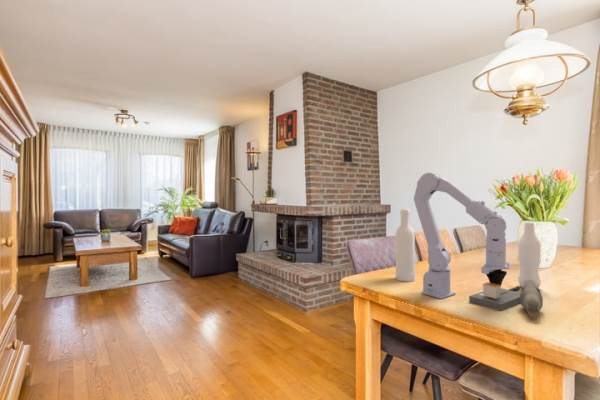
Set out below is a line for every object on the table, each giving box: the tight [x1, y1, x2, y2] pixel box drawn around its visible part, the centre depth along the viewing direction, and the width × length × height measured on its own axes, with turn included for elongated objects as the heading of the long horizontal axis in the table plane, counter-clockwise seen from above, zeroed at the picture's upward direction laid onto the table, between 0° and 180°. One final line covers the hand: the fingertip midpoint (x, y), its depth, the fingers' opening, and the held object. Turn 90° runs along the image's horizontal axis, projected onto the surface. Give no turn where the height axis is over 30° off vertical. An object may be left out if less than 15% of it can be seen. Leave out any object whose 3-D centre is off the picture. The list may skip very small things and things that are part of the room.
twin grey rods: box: [508, 285, 521, 292], centre depth 117 cm, size 12×6×1 cm, turn 123°
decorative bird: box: [519, 280, 544, 321], centre depth 99 cm, size 6×17×8 cm, turn 147°
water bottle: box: [517, 222, 542, 289], centre depth 124 cm, size 7×7×25 cm
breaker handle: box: [482, 281, 502, 299], centre depth 106 cm, size 3×4×4 cm
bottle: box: [395, 208, 416, 283], centre depth 137 cm, size 8×8×30 cm
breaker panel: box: [468, 288, 521, 312], centre depth 109 cm, size 18×10×2 cm, turn 123°
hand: (495, 292), depth 108 cm, fingers closed
